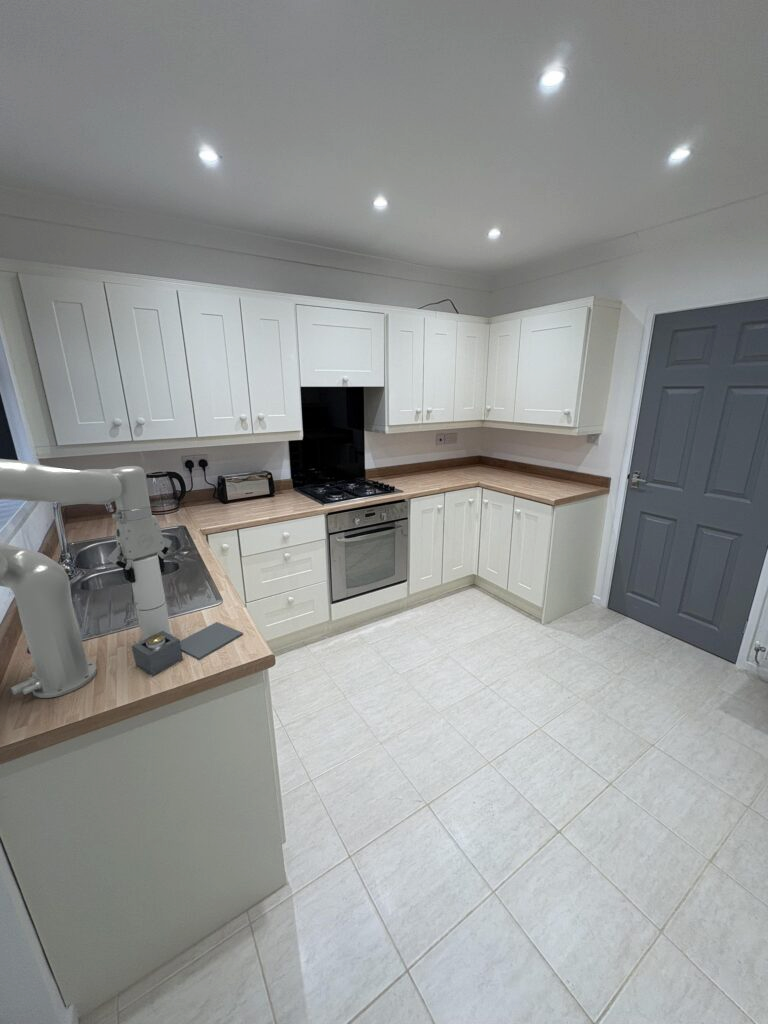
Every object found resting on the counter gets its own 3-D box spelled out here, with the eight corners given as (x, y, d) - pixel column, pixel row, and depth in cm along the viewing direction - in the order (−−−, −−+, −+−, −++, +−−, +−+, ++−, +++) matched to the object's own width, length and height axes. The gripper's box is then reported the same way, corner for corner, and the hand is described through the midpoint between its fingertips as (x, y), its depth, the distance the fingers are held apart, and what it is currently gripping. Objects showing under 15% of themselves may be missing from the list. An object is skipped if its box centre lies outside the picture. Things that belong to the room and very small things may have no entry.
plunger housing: (152, 676, 100) (148, 655, 98) (135, 666, 104) (131, 645, 102) (183, 659, 106) (179, 639, 104) (166, 650, 110) (162, 630, 109)
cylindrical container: (164, 629, 120) (151, 550, 114) (175, 637, 115) (162, 555, 109) (138, 639, 114) (122, 557, 108) (149, 648, 110) (133, 563, 104)
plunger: (155, 664, 102) (151, 645, 100) (146, 658, 104) (142, 640, 102) (171, 655, 105) (167, 636, 104) (162, 650, 107) (158, 632, 106)
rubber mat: (199, 660, 106) (198, 658, 105) (173, 646, 112) (172, 644, 112) (243, 634, 117) (242, 632, 117) (217, 623, 123) (217, 621, 123)
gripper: (105, 523, 97) (118, 591, 101) (175, 508, 111) (184, 568, 115) (90, 519, 101) (104, 585, 105) (159, 505, 115) (169, 563, 119)
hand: (146, 576), depth 110 cm, fingers closed on cylindrical container, 7 cm apart
